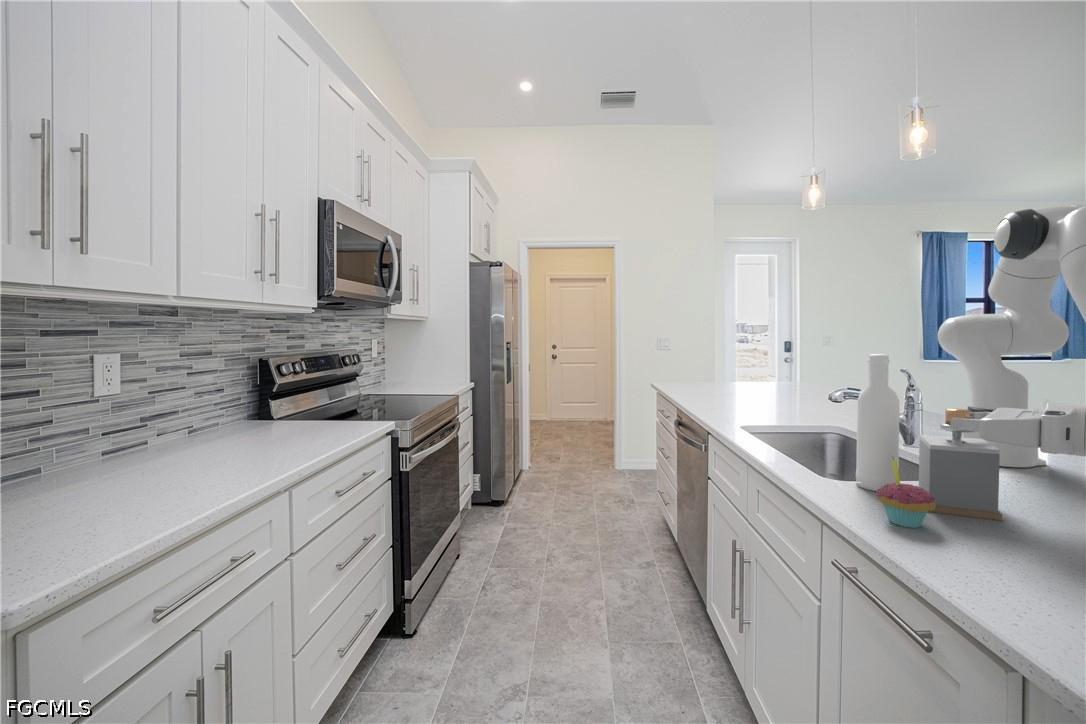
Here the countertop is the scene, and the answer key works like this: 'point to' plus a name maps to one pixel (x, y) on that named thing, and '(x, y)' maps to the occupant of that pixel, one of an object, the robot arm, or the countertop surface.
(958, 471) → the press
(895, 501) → the cupcake
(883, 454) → the bottle
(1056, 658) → the countertop surface
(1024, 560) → the countertop surface
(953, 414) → the plunger
